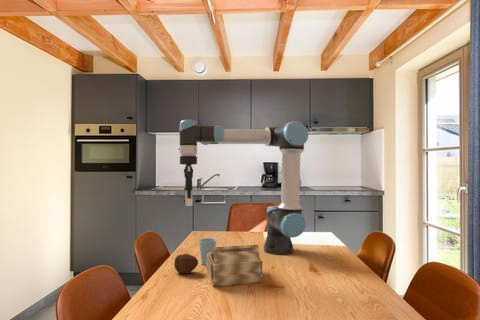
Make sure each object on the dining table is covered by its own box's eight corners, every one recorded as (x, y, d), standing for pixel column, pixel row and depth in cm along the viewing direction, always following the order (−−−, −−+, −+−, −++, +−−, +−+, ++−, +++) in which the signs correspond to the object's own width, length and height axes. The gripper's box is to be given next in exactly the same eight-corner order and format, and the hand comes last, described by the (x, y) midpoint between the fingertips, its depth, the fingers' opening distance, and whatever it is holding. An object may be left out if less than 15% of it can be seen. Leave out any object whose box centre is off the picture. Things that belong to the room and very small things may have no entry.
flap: (259, 261, 117) (257, 245, 120) (260, 260, 116) (257, 244, 119) (214, 264, 113) (213, 247, 116) (214, 263, 113) (213, 247, 116)
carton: (251, 268, 133) (251, 249, 134) (262, 282, 117) (262, 261, 117) (206, 271, 129) (206, 252, 130) (210, 287, 113) (210, 265, 113)
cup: (218, 264, 139) (218, 241, 139) (202, 267, 136) (201, 242, 136) (213, 259, 146) (212, 237, 146) (197, 262, 143) (197, 239, 143)
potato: (176, 270, 132) (176, 251, 132) (199, 270, 131) (199, 251, 132) (172, 276, 124) (172, 256, 124) (196, 276, 124) (196, 256, 124)
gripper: (179, 156, 148) (180, 201, 148) (179, 154, 124) (179, 208, 124) (195, 156, 150) (195, 200, 150) (198, 154, 125) (199, 207, 125)
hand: (188, 204), depth 137 cm, fingers open, 13 cm apart
